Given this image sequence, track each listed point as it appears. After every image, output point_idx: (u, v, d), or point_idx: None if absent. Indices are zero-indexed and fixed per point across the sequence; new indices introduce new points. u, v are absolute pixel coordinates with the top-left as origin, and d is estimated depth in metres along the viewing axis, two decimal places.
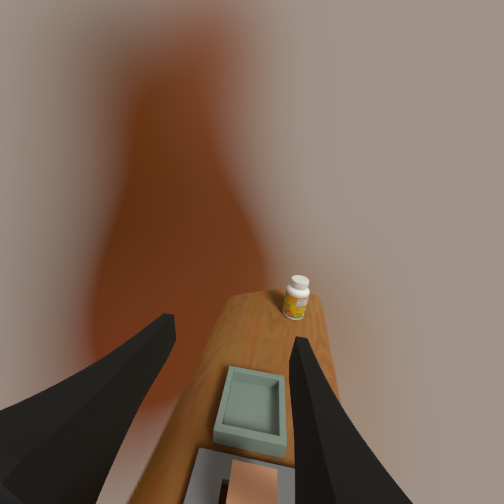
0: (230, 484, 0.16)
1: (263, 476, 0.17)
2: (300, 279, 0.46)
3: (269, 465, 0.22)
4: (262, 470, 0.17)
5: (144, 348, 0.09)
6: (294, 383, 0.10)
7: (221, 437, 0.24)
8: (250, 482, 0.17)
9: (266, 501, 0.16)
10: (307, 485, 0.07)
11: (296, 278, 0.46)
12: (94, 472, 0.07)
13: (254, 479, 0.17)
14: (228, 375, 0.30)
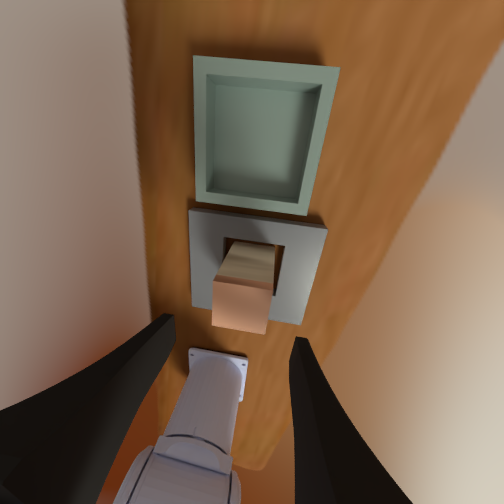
0: (214, 299, 0.14)
1: (253, 295, 0.13)
2: None
3: (280, 225, 0.17)
4: (253, 291, 0.13)
5: (144, 348, 0.09)
6: (294, 383, 0.10)
7: None
8: (237, 299, 0.13)
9: (256, 311, 0.14)
10: (307, 485, 0.07)
11: None
12: (94, 472, 0.07)
13: (242, 297, 0.13)
14: (196, 89, 0.12)
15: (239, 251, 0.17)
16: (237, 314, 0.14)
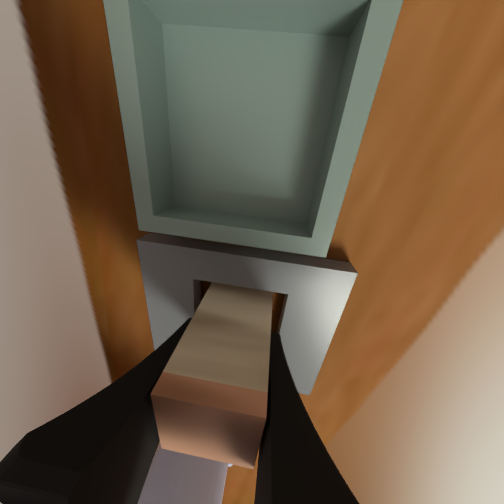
0: (158, 419, 0.07)
1: (229, 421, 0.07)
2: None
3: (280, 265, 0.11)
4: (227, 415, 0.07)
5: None
6: None
7: None
8: (200, 423, 0.07)
9: (237, 441, 0.07)
10: (261, 475, 0.07)
11: None
12: (135, 482, 0.07)
13: (208, 421, 0.07)
14: (112, 19, 0.06)
15: (216, 303, 0.11)
16: (202, 441, 0.08)
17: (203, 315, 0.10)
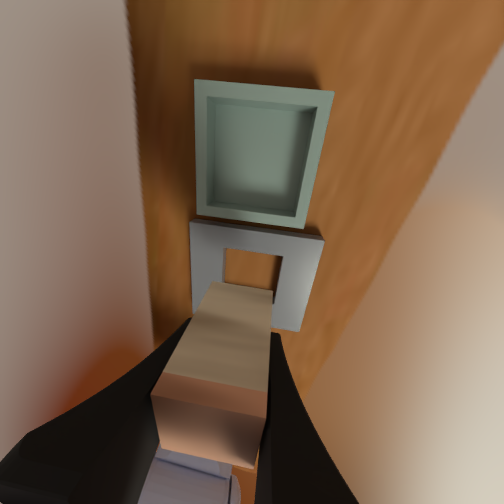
0: (158, 419, 0.07)
1: (229, 421, 0.07)
2: None
3: (278, 237, 0.17)
4: (227, 415, 0.07)
5: None
6: None
7: None
8: (200, 423, 0.07)
9: (236, 441, 0.07)
10: (261, 475, 0.07)
11: None
12: (135, 482, 0.07)
13: (208, 421, 0.07)
14: (197, 110, 0.13)
15: (216, 303, 0.11)
16: (202, 441, 0.08)
17: (203, 315, 0.10)
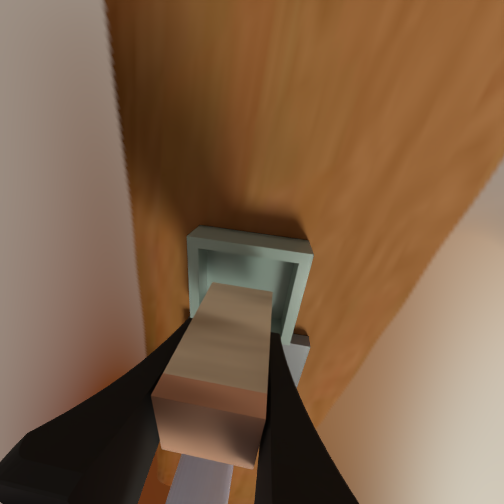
0: (158, 420, 0.07)
1: (229, 422, 0.07)
2: None
3: None
4: (227, 416, 0.07)
5: None
6: None
7: None
8: (200, 424, 0.07)
9: (236, 442, 0.08)
10: (261, 475, 0.07)
11: None
12: (135, 482, 0.07)
13: (208, 422, 0.07)
14: (190, 257, 0.14)
15: (216, 304, 0.11)
16: (202, 441, 0.08)
17: (203, 316, 0.10)
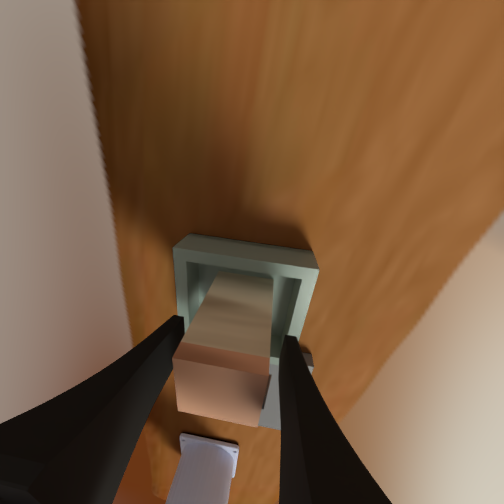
0: (177, 381, 0.09)
1: (238, 380, 0.08)
2: None
3: None
4: (236, 374, 0.08)
5: (157, 350, 0.09)
6: (282, 381, 0.10)
7: None
8: (213, 383, 0.09)
9: (243, 400, 0.09)
10: (289, 481, 0.07)
11: None
12: (110, 476, 0.07)
13: (220, 381, 0.08)
14: (177, 271, 0.12)
15: (223, 289, 0.13)
16: (214, 401, 0.09)
17: (212, 299, 0.12)
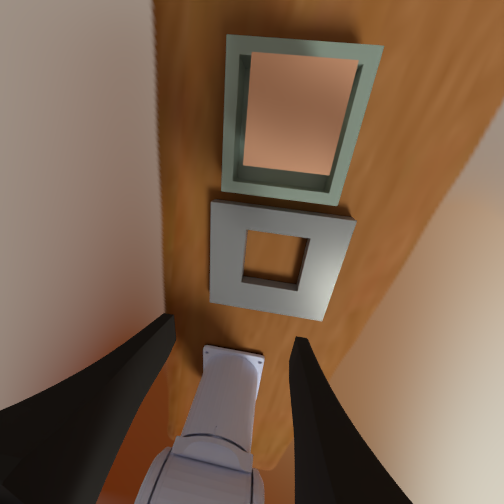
0: (251, 101, 0.08)
1: (321, 79, 0.08)
2: None
3: (306, 217, 0.16)
4: (321, 67, 0.08)
5: (144, 348, 0.09)
6: (294, 383, 0.10)
7: None
8: (291, 94, 0.08)
9: (322, 121, 0.08)
10: (307, 485, 0.07)
11: None
12: (94, 472, 0.07)
13: (300, 87, 0.08)
14: (228, 71, 0.12)
15: None
16: (287, 133, 0.09)
17: None
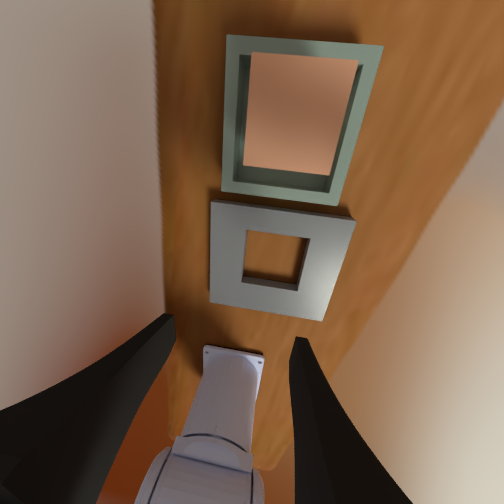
0: (251, 101, 0.08)
1: (321, 79, 0.08)
2: None
3: (306, 217, 0.16)
4: (321, 67, 0.08)
5: (144, 348, 0.09)
6: (294, 383, 0.10)
7: None
8: (291, 94, 0.08)
9: (322, 121, 0.08)
10: (307, 485, 0.07)
11: None
12: (94, 472, 0.07)
13: (300, 87, 0.08)
14: (228, 71, 0.12)
15: None
16: (287, 133, 0.09)
17: None
